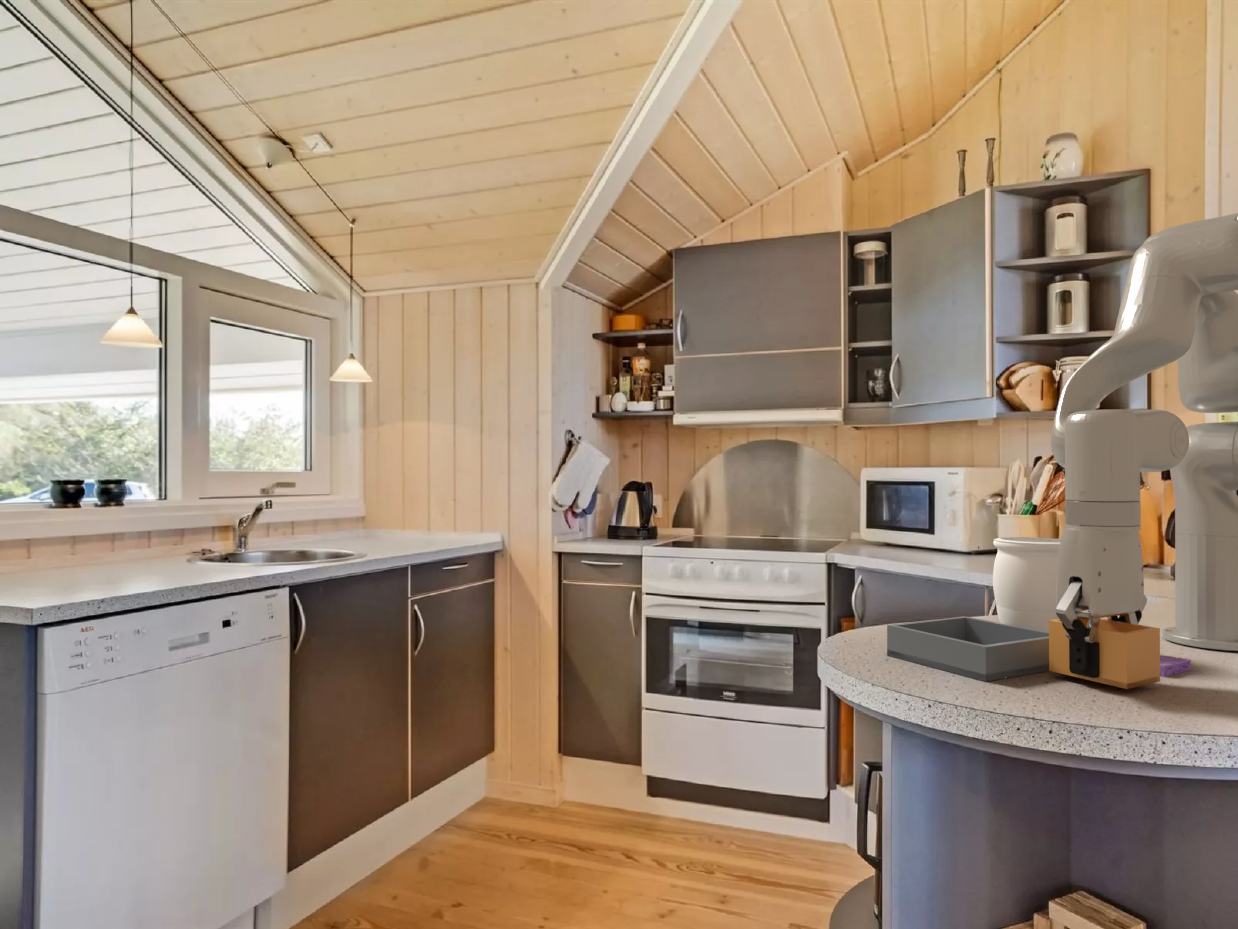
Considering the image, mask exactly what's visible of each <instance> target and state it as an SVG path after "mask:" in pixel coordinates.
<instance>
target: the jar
mask: <svg viewBox="0 0 1238 929" xmlns="http://www.w3.org/2000/svg"><path fill="white" fill-rule="evenodd" d="M992 540H993V541H992V544H993V546H994V547H995V548H996V549H997V553H996V555H995V558H994V564H993V568H992V569H993V570H992V572H993V573H992V586H993V588H992V589H993V596H994V600H995V605H996V608H995V609H996V612H997V613H996V614H997V617H998V620H999V623H1003V624H1008V625H1013V626H1018V627H1024V628H1029V629H1034V630H1039V631H1045V632H1049V620H1054V619H1059V617H1058V616H1057V614H1056V612H1055V610H1056V607H1057V605H1056V584H1057V568H1058V556H1059V548H1060V542H1061V538H1049V537H1048V538H1047V537H1026V536H1022V537H1021V536H1020V537H1019V536H1016V537H1015V536H1014V537H1013V536H1011V537H1010V536H1008V537H1005V536H1004V537H997V538H993V539H992Z"/></svg>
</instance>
